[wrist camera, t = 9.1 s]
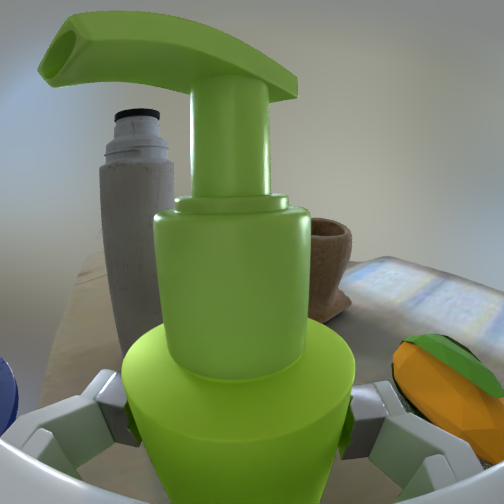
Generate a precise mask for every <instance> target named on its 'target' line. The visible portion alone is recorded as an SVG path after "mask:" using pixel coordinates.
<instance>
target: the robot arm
mask: <svg viewBox="0 0 504 504" xmlns="http://www.w3.org/2000/svg"><path fill="white" fill-rule="evenodd" d="M115 442H116V443H120V444H125V445H129V446H134V447H138V448H139V446H140V444H141V442H142V438H141V435H140V433H139V430H138V428H137V425H136V422H135V420H134V417H133V414H132V411H131V408H130V405H129V403H128V400H127V396H126V393H125V390H124V387H123V383H122V377H121V372H116V371H112V370H108V369H104V370H101V371H100V372H99V374H98V375H97V376H96V377H95V378H94V380H93V381H92V382H91V383H90V384H89V386H88V387H87V388H86V389H85V391H84V392H83V393H82V394H81V395H80V396H77V395H76V396H73V397H70V398H68V399H65V400H63V401H60V402H57V403H55V404H52V405H49V406H47V407H44V408H41V409H38V410H36V411H33V412H30V413H27V414H24V415H21V416H19V418H18V419H17V420H16V421H15V422H14V423H13V424H12V425H11V426H10V427H9V429H8V430H7V431H6V432H5V433H4V434H3V435H2V436H1V438H0V504H151V503H147V502H143V501H139V500H136V499H132V498H129V497H126V496H122V495H119V494H116V493H113V492H110V491H107V490H104V489H101V488H99V487H96V486H93V485H91V484H88V483H86V482H83V480H82V478H81V477H80V475H79V474H78V473H77V471H76V470H75V469H76V468H78V467H79V466H81V465H82V464H84V463H86V462H87V461H89V460H90V459H92V458H93V457H95V456H96V455H98V454H100V453H101V452H103V451H104V450H106V449H107V448H109V447H110V446H112V445H113V444H115ZM338 448H339V452H340V457H341V460H346V459H356V458H365V457H368V459H369V460H371V461H372V462H373V463H374V464H375V465H376V466H377V467H378V468H379V469H381V470H382V471H383V472H384V473H385V474H386V475H387V476H388V477H390V478H391V479H392V480H393V481H394V482H395V483H397V484H398V485H399V486H400V487H401V488H402V489H404V490H403V492H402V493H401V494H400V496H399V497H398V498H397V499H396V501H395V502H394V503H393V504H504V461H502V462H500V463H498V464H496V465H494V466H492V467H490V468H488V469H486V470H484V468H483V467H482V465H481V463H480V461H479V460H478V458H477V456H476V455H475V453H474V451H473V450H472V448H471V446H470V445H469V443H468V442H466V441H464V440H462V439H460V438H458V437H456V436H454V435H452V434H450V433H448V432H446V431H444V430H442V429H440V428H438V427H437V426H435V425H433V424H431V423H429V422H427V421H425V420H423V419H422V418H420V417H418V416H416V415H414V414H412V413H406V411H405V409H404V408H403V406H402V404H401V402H400V400H399V398H398V396H397V395H396V393H395V391H394V389H393V387H392V385H391V384H390V382H389V381H381V382H373V383H368V384H358V385H353V387H352V392H351V396H350V401H349V405H348V409H347V413H346V417H345V421H344V425H343V429H342V433H341V436H340V440H339V444H338Z"/></svg>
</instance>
